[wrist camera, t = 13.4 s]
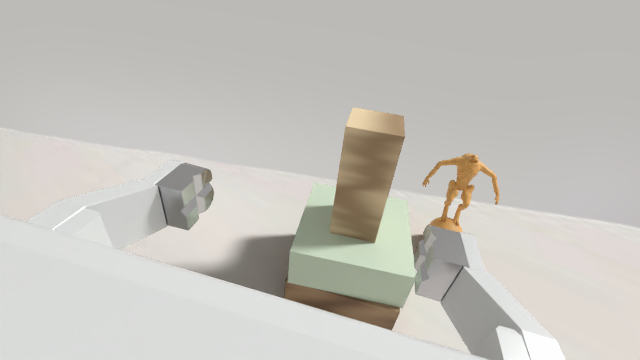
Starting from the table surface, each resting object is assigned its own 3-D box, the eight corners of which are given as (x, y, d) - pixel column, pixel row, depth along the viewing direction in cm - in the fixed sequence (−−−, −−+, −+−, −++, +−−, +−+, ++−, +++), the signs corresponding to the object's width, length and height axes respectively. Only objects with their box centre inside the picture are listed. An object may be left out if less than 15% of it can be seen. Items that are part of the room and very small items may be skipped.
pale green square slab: (287, 282, 25) (289, 251, 23) (311, 210, 34) (314, 182, 31) (402, 308, 25) (415, 278, 22) (397, 228, 33) (407, 200, 31)
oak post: (329, 232, 25) (345, 126, 20) (337, 205, 29) (353, 107, 23) (374, 242, 25) (404, 136, 19) (377, 213, 28) (403, 116, 23)
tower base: (283, 307, 28) (285, 280, 26) (311, 235, 36) (314, 211, 34) (388, 337, 26) (399, 312, 24) (392, 256, 35) (400, 231, 32)
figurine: (404, 246, 36) (436, 161, 29) (407, 216, 40) (435, 138, 34) (475, 267, 34) (527, 183, 27) (470, 233, 39) (512, 155, 32)
